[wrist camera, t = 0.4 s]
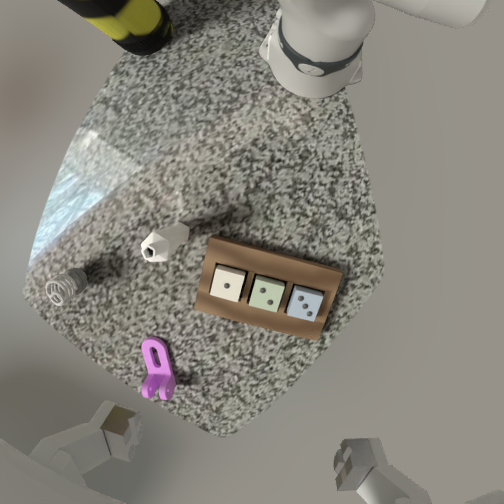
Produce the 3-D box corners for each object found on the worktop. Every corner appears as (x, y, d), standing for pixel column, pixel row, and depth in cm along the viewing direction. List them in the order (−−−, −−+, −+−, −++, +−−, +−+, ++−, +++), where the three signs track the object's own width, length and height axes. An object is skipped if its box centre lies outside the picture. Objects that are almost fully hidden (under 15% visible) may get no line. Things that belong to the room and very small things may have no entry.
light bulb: (95, 267, 57) (63, 286, 46) (93, 291, 59) (63, 313, 47) (75, 259, 57) (41, 276, 46) (74, 282, 59) (42, 302, 47)
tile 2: (256, 274, 53) (256, 279, 51) (284, 281, 53) (284, 287, 51) (249, 299, 55) (248, 305, 52) (276, 306, 55) (276, 312, 52)
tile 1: (218, 264, 54) (215, 268, 51) (245, 271, 53) (244, 276, 51) (212, 289, 55) (209, 295, 52) (239, 296, 55) (237, 302, 52)
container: (140, 10, 43) (66, -64, 14) (184, 18, 44) (122, -74, 15) (116, 52, 46) (22, -6, 17) (158, 62, 47) (70, -11, 18)
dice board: (212, 234, 54) (209, 237, 52) (340, 269, 54) (342, 273, 52) (197, 303, 58) (194, 309, 55) (315, 334, 58) (317, 340, 55)
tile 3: (294, 284, 53) (295, 290, 51) (321, 291, 53) (323, 297, 51) (286, 309, 55) (287, 315, 52) (312, 315, 55) (314, 321, 52)
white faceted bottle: (190, 218, 54) (160, 233, 39) (193, 242, 55) (166, 265, 40) (166, 220, 54) (131, 237, 39) (170, 244, 55) (136, 267, 40)
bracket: (176, 384, 63) (167, 403, 57) (154, 382, 64) (144, 400, 57) (164, 336, 60) (153, 354, 54) (141, 335, 61) (128, 352, 54)
